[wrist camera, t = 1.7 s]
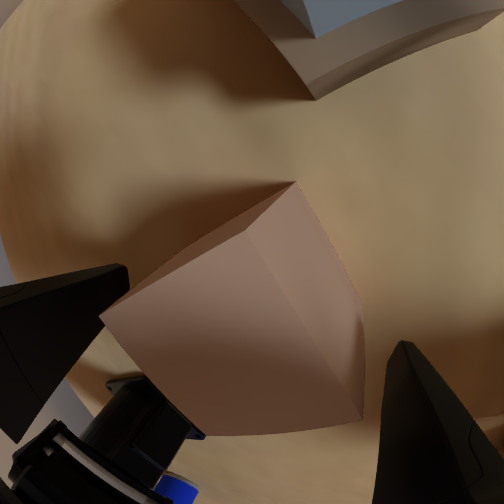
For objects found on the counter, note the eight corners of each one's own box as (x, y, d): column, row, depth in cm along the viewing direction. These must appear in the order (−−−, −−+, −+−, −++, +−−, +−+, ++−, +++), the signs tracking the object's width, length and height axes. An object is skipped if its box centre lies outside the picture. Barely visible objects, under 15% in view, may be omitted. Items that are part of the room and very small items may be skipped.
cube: (253, 342, 12) (206, 435, 7) (186, 246, 11) (98, 315, 6) (362, 304, 9) (362, 419, 5) (296, 181, 9) (245, 230, 4)
